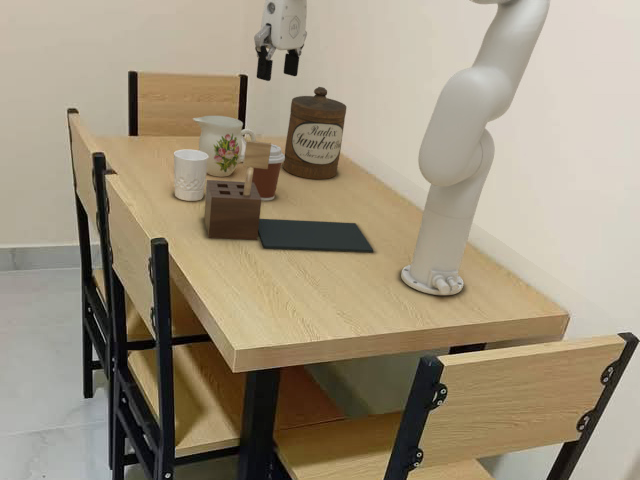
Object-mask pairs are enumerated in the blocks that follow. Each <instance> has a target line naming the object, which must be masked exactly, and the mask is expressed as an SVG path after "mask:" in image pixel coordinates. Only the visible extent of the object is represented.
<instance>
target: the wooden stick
mask: <svg viewBox="0 0 640 480" xmlns="http://www.w3.org/2000/svg"><path fill="white" fill-rule="evenodd" d="M271 144H272V143H271V142H266V141H258V140H256V141H251V140H246V149H245V156H244V162H242V166H243V168H246V172H245V177H244V182H245V185H244V192H243V195H245V196H250V191H251V184H252V177H253V170H254V168H261V169H268V163H269V157H270V150H271Z"/></svg>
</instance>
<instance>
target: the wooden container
mask: <svg viewBox="0 0 640 480" xmlns="http://www.w3.org/2000/svg"><path fill="white" fill-rule="evenodd" d="M313 93H314V94H315V95H300V96H295V97H293V98H292V99H291V103H290V114H289V121H288V128H287V133H286V140H285V147H284V155H285V161H283V164H282V167H283V169H284V170H285V171H286V172H287V173H289V174H291V175H293V176H297V177H300V178H305V179H311V180H327V179H331V178H333V177H336V176H337V173H338V167H339V161H340V156H341V149H342V143H343V134H344V127H345V122H346V121H345V119H346V114H347V105H346V104H345V103H344V102H341V101H339V100H335V99H332V98H328V97H327V95H328V90H327V89H326V88H325V87H323V86H318V87H316V88H315V89H313Z"/></svg>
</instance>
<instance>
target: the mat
mask: <svg viewBox="0 0 640 480" xmlns="http://www.w3.org/2000/svg"><path fill="white" fill-rule="evenodd" d="M258 237H259V239H260V241H261V244H262V247H263V249H268V250H269V249H270V250H271V249H272V250H296V251H297V250H298V251H299V250H300V251H321V252H322V251H323V252H325V251H326V252H346V253H347V252H351V253H352V252H353V253H374V249H373V247H372V245H371V244H370V243H369V241H368V239H367V238H366V237H365V235H364V234H363V232H362V230H361V229H360V228H359V226H358V225H357V223H356V222H342V221H341V222H339V221H338V222H337V221H316V220H299V219H297V220H295V219H275V218H274V219H273V218H259V227H258Z"/></svg>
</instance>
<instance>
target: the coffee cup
mask: <svg viewBox="0 0 640 480" xmlns="http://www.w3.org/2000/svg"><path fill="white" fill-rule="evenodd" d="M284 161H285V153H283V152H282V147H280V146H279V145H277V144H273V143H271V150H270V157H269V163H268V169H261V168H254V170H253V177H252V182H253V183H254V184H255V186H256V188H257V191H258V193H259V195H260V197H261V201H265V202H266V201H272V200H274V199H275V197H276V191H277V186H278V182H279V177H280V171H281V166H282V163H284Z"/></svg>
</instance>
